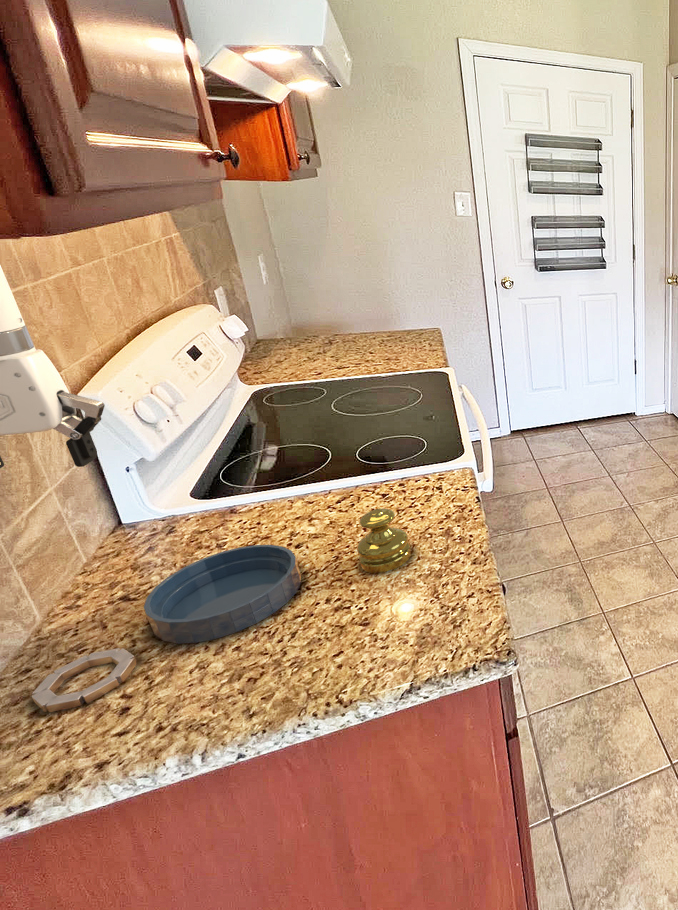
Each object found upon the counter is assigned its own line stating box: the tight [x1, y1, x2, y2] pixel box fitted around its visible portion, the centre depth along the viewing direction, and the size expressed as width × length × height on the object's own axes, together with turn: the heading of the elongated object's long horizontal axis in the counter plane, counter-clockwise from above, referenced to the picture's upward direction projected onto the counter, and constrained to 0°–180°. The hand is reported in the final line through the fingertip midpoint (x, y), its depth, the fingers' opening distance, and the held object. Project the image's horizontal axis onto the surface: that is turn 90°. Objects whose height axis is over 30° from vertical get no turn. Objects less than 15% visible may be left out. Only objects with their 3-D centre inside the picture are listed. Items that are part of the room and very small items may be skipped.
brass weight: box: [356, 508, 412, 574], centre depth 94 cm, size 7×7×10 cm
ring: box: [31, 647, 138, 713], centre depth 71 cm, size 8×8×2 cm
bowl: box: [143, 544, 302, 645], centre depth 85 cm, size 17×17×4 cm
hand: (40, 466), depth 77 cm, fingers open, 9 cm apart
